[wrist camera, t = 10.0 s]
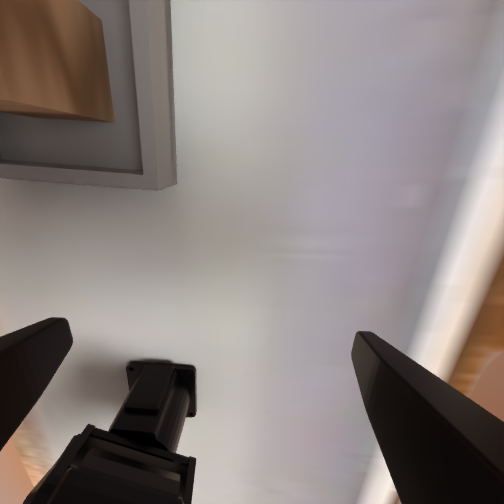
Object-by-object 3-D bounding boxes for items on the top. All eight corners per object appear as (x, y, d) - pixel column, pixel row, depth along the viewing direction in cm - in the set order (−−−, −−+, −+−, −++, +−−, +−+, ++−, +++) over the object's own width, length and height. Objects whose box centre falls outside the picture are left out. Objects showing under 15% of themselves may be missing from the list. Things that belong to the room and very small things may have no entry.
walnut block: (114, 122, 15) (10, 100, 9) (34, 117, 16) (-128, 91, 9) (101, 19, 14) (-43, -102, 7) (10, 14, 14) (-216, -112, 7)
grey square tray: (177, 183, 18) (158, 190, 14) (8, 170, 18) (-49, 174, 14) (168, -49, 13) (139, -115, 10) (-57, -67, 13) (-160, -138, 10)
